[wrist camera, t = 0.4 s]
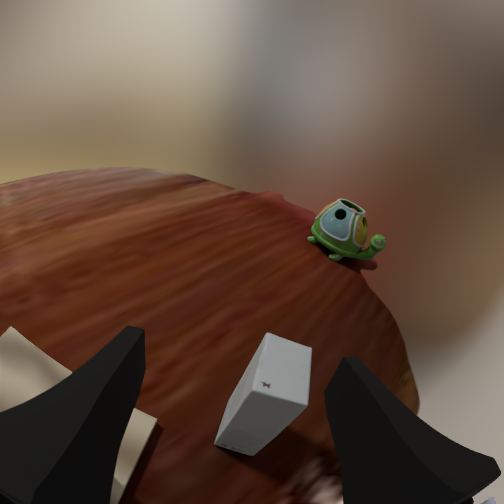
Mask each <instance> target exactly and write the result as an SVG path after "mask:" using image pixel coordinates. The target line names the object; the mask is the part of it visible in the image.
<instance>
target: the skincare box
mask: <svg viewBox="0 0 504 504" xmlns="http://www.w3.org/2000/svg"><path fill="white" fill-rule="evenodd" d="M311 354H312V348H310V347H307V346H304V345H301V344H298V343H295V342H292V341H289V340H286V339H284V338H281V337H278V336H276V335H273V334H271V333H266V335H265V336H264V338H263V340H262V342H261V344H260V346H259V348H258V349H257V351H256V353H255V355H254V356H253V358H252V360H251V362H250V364H249V365H248V367H247V369H246V371H245V373H244V374H243V376H242V378H241V380H240V382H239V383H238V385H237V387H236V389H235V390H234V392H233V394H232V395H231V397H230V399H229V401H228V404H227V407H226V410H225V413H224V416H223V419H222V422H221V425H220V428H219V431H218V434H217V437H216V440H215V442H214V444H215V445H218V446H221V447H224V448H227V449H230V450H233V451H236V452H240V453H243V454H246V455H250V456H254V455H255V454H256V453H257V452H259V451H260V450H261V449H262V448H263V447H264V446H266V445H267V444H268V443H269V442H270V441H271V440H272V439H274V438H275V437H276V436H277V435H278V434H279V433H280V432H281V431H282V430H283V429H284V428H286V427H287V426H288V425H289V424H290V423H291V422H292V421H293V420H294V419H295V418H296V417H297V416H298V415H299V414H300V413H301V412H302V411H303V410H304V409H305V408H306V407H307V406H308V398H309V386H310V370H311Z"/></svg>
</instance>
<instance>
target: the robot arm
mask: <svg viewBox="0 0 504 504" xmlns="http://www.w3.org/2000/svg"><path fill="white" fill-rule="evenodd" d="M145 370H146V367H145V332H144V329H141V328H137V327H132V326H127V327H125V328H124V329H123V330H122V331H121V332H120V333H119V334H118V335H117V336H116V337H114V338H113V339H112V340H111V341H110V342H109V343H108V344H107V345H106V346H105V347H104V348H102V349H101V350H100V351H99V352H98V353H97V354H95V355H94V356H93V357H92V358H91V359H90V360H88V361H87V362H86V363H85V364H83V365H82V366H81V367H80V368H78V369H77V370H76V371H74V372H73V373H72V374H70V375H69V376H68V377H66V378H65V379H63V380H62V381H61V382H59V383H58V384H56V385H54V386H53V387H51V388H50V389H48V390H46V391H45V392H43V393H41V394H39V395H37V396H36V397H34V398H32V399H30V400H28V401H26V402H24V403H22V404H19V405H17V406H15V407H12V408H10V409H7V410H5V411H2V412H0V504H110V498H111V491H112V484H113V478H114V473H115V467H116V463H117V458H118V453H119V449H120V446H121V442H122V439H123V436H124V434H125V431H126V428H127V425H128V423H129V420H130V417H131V415H132V412H133V409H134V407H135V404H136V401H137V399H138V396H139V393H140V390H141V386H142V382H143V378H144V374H145ZM324 395H325V405H326V412H327V417H328V421H329V425H330V429H331V433H332V437H333V440H334V444H335V448H336V452H337V456H338V460H339V464H340V470H341V478H342V487H343V504H473V502H474V501H473V498H472V497H473V496H474V495H476V494H477V493H478V492H480V491H481V490H483V489H484V488H485V487H487V486H488V485H489V484H491V483H492V482H493V481H495V480H496V479H497V478H498V477H499V476H500V475H501V471H500V469H499V467H498V465H497V463H496V461H495V459H494V458H492V457H489V456H486V455H484V454H481V453H478V452H475V451H473V450H470V449H468V448H466V447H464V446H462V445H460V444H458V443H456V442H454V441H452V440H450V439H449V438H447V437H445V436H444V435H442V434H441V433H439V432H438V431H436V430H435V429H433V428H432V427H430V426H429V425H428V424H427V423H425V422H424V421H423V420H421V419H420V418H419V417H418V416H416V415H415V414H414V413H413V412H412V411H411V410H410V409H408V408H407V407H406V406H405V405H404V404H403V403H402V402H401V401H400V400H399V399H398V398H397V397H396V396H395V395H394V394H393V393H392V392H391V391H390V390H389V389H388V388H387V387H386V386H385V385H384V384H383V383H382V382H381V381H380V380H379V379H378V378H377V377H376V376H375V375H374V374H373V373H372V372H371V370H370V369H369V368H368V367H367V366H366V365H365V364H364V363H363V362H362V361H361V360H359V359H358V358H357V357H343V358H342V360H341V362H340V364H339V366H338V368H337V370H336V372H335V373H334V375H333V377H332V379H331V381H330V382H329V384H328V386H327V388H326V389H325V391H324ZM482 504H496V503H495V500H494V498H493V497H490V498H489V499H488V500H486V501H485V502H483V503H482Z"/></svg>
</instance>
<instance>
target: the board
mask: <svg viewBox="0 0 504 504" xmlns="http://www.w3.org/2000/svg"><path fill="white" fill-rule="evenodd" d="M70 374H72V372H71V371H69V370H68V369H66V368H65V367H63V366H62V365H61V364H59V363H58V362H56V361H55V360H53V359H52V358H51V357H49V356H48V355H47V354H45V353H44V352H42V351H41V350H40V349H39V348H37V347H36V346H35V345H33V344H32V343H31V342H30V341H28V340H27V339H26V338H25V337H23V336H22V335H21V334H20V333H18V332H17V331H16V330H15V329H14V328H13V327H10V328H9V329H8V330H7V331H6V332H5V333H4V334H3V335H2V336H1V337H0V412H2V411H5V410H7V409H10V408H12V407H15V406H17V405H19V404H22V403H24V402H26V401H28V400H30V399H32V398H34V397H36V396H37V395H39V394H41V393H43V392H45V391H46V390H48V389H50V388H51V387H53V386H54V385H56V384H58V383H59V382H61V381H62V380H63V379H65V378H66V377H68V376H69V375H70ZM156 423H157V419H156V418H154V417H152V416H150V415H147V414H145V413H143V412H141V411H139V410H137V409H135V408H134V409H133V412H132V415H131V417H130V420H129V423H128V425H127V428H126V431H125V434H124V436H123V439H122V442H121V446H120V449H119V453H118V458H117V463H116V467H115V473H114V478H113V484H112V491H111V498H110V504H118V503H119V501H120V499H121V497H122V494H123V492H124V490H125V488H126V486H127V484H128V482H129V480H130V477H131V475H132V473H133V471H134V469H135V467H136V465H137V463H138V460H139V458H140V456H141V454H142V452H143V450H144V448H145V446H146V444H147V442H148V439H149V437H150V435H151V433H152V431H153V429H154V427H155V425H156Z"/></svg>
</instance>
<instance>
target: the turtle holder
mask: <svg viewBox="0 0 504 504" xmlns="http://www.w3.org/2000/svg"><path fill="white" fill-rule="evenodd" d="M351 208H355V209H356V210H357V211H355V210H353V209H351ZM311 231H312V234H313V235H314V236H312V237H308V238H307V240H308V241H310V242H311V243H313V244H316V243H318V242H320V243H321V244H322V245H323V246H325V247H326V248H328V249H330V250H331V251H333V252H335V253H334V254H330V255H329V258H330V259H331V260H333V261H339V260H341V259H342V258H343V257H349V258H356V259H359V260H362V261H366V260H369V259H371V258H373V257H374V256H375V255H376V254H377V253H378V252H380V251H382V250H383V249H384V248H385V247H386V245H385V244H386V238H385V237H383V236H381V235H375V236H373V237H372V238H371V239H370V245H369V247H368V248H367V249H365V250H361V249H362V247H364V245H365V243H366V239H367V235H368V223H367V219H366V215H365V211H364V210H363V209H362V208H361V207H359V206H358V205H356V204H354V203H353V202H350V201H349V200H346V199H338V200H337V201H335V202H333V203H331V204H328V205H327V206H325V207H324V208H323V209H322V210H321V212H320V213H319V214H318V216H317V217H316V218H315V222H314V224H313V226H312V227H311Z"/></svg>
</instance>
